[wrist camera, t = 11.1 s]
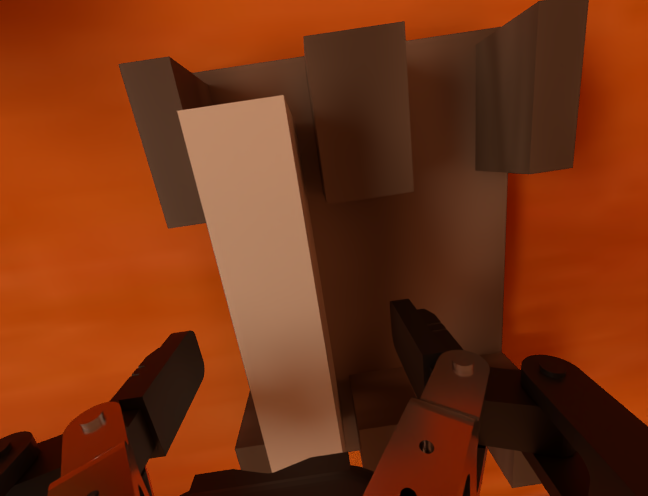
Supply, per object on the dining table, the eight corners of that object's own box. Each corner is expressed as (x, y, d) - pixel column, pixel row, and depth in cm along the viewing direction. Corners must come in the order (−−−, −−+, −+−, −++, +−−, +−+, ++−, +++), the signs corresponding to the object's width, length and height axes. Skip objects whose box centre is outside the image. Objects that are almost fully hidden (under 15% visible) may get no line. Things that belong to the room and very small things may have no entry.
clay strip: (299, 425, 17) (294, 557, 12) (237, 132, 13) (177, 110, 7) (342, 418, 17) (358, 547, 12) (295, 124, 13) (283, 94, 7)
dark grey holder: (272, 441, 19) (260, 533, 15) (183, 85, 13) (112, 44, 9) (485, 409, 19) (541, 490, 15) (490, 39, 13) (591, -27, 9)
